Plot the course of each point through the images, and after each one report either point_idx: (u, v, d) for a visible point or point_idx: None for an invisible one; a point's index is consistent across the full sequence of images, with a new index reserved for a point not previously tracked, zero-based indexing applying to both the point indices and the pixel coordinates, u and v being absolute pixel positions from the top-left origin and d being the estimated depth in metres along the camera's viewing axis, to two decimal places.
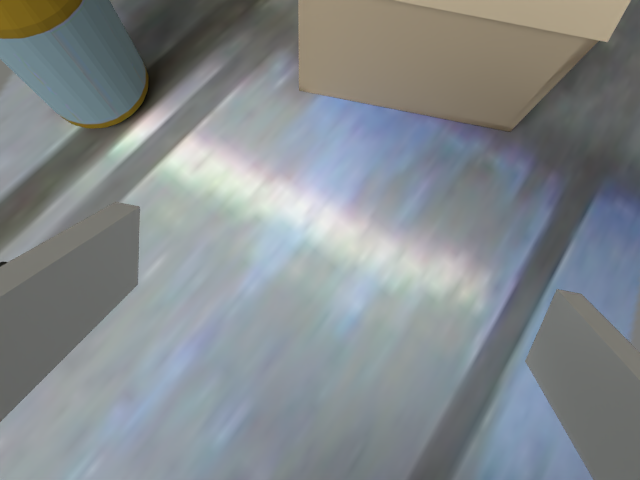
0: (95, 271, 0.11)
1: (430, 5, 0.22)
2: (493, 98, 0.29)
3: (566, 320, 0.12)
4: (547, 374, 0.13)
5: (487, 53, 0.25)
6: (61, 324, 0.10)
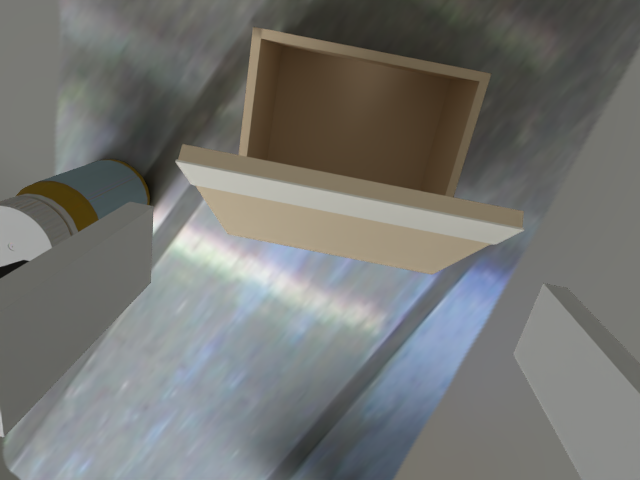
0: (112, 269, 0.12)
1: None
2: None
3: (552, 313, 0.13)
4: (533, 367, 0.13)
5: None
6: (81, 321, 0.10)
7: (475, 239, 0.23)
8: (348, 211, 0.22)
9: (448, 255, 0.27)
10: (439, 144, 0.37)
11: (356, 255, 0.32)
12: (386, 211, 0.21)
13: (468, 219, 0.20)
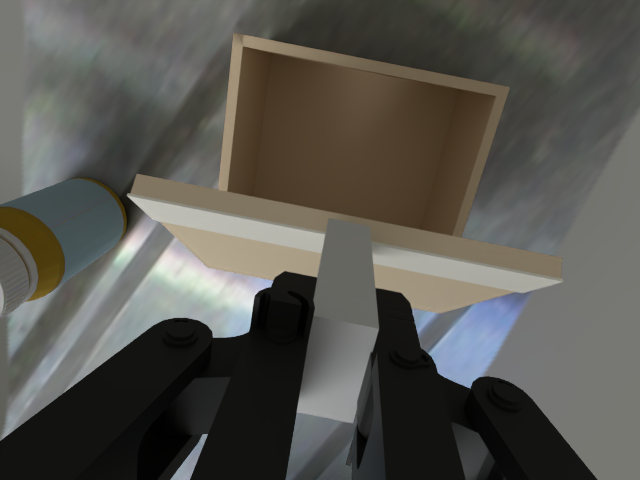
0: None
1: None
2: None
3: None
4: None
5: None
6: None
7: (499, 287, 0.18)
8: None
9: (462, 298, 0.23)
10: (447, 163, 0.33)
11: None
12: (390, 255, 0.17)
13: (493, 268, 0.16)
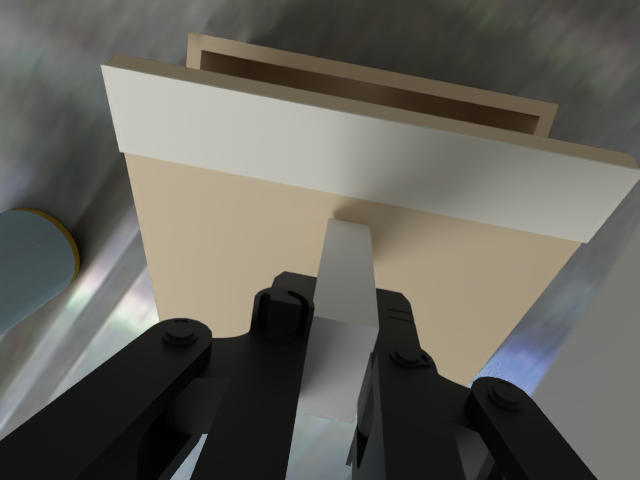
0: None
1: None
2: None
3: None
4: None
5: None
6: None
7: (557, 231, 0.15)
8: (363, 181, 0.14)
9: (501, 311, 0.18)
10: None
11: None
12: (425, 163, 0.14)
13: (558, 155, 0.13)
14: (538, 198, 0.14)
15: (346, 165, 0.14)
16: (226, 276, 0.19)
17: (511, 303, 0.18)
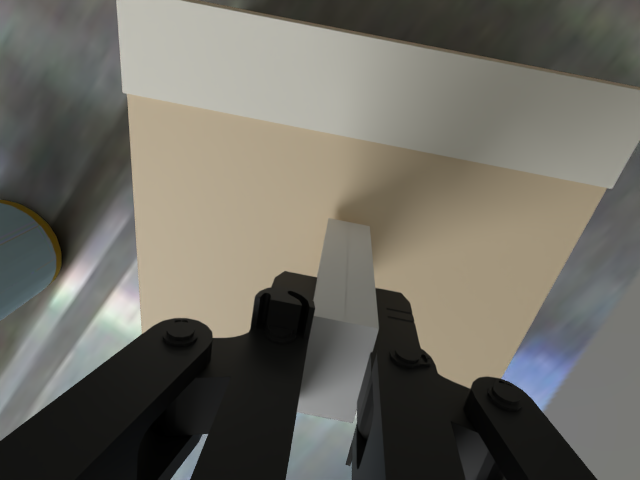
0: None
1: None
2: None
3: None
4: None
5: None
6: None
7: (580, 175, 0.14)
8: (378, 120, 0.14)
9: (524, 287, 0.16)
10: None
11: None
12: (443, 94, 0.13)
13: (576, 79, 0.13)
14: (559, 133, 0.13)
15: (361, 100, 0.14)
16: (223, 255, 0.17)
17: (535, 275, 0.16)
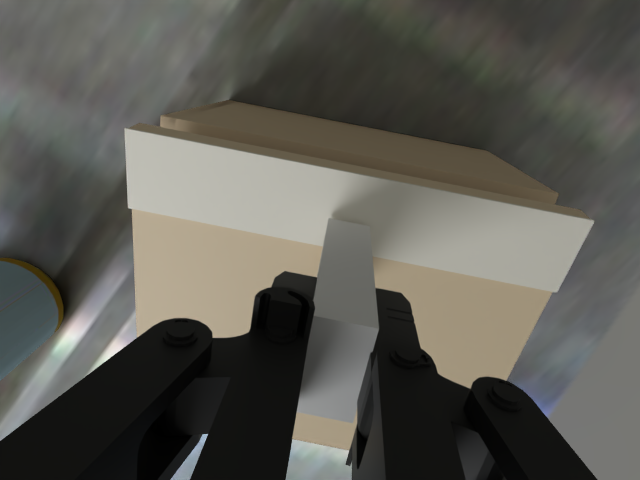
0: None
1: None
2: None
3: None
4: None
5: None
6: None
7: (529, 281, 0.16)
8: None
9: (487, 371, 0.18)
10: None
11: (342, 428, 0.21)
12: (406, 216, 0.15)
13: (519, 207, 0.15)
14: (507, 248, 0.15)
15: (336, 218, 0.16)
16: None
17: (495, 361, 0.18)
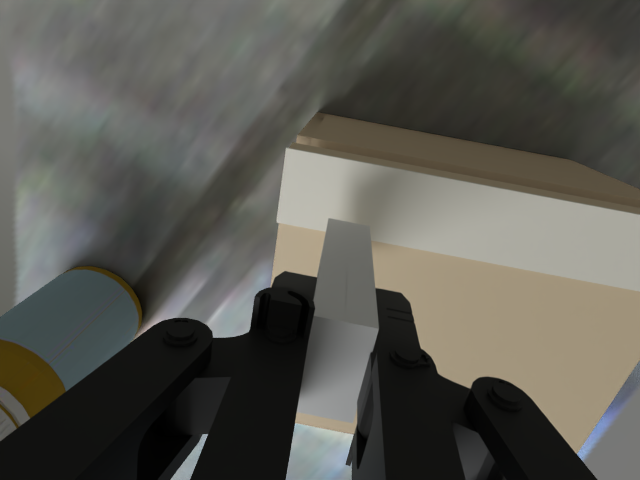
0: None
1: None
2: None
3: None
4: None
5: None
6: None
7: None
8: (491, 246, 0.17)
9: (605, 376, 0.19)
10: None
11: None
12: (548, 228, 0.16)
13: None
14: None
15: (478, 231, 0.16)
16: None
17: (615, 366, 0.19)
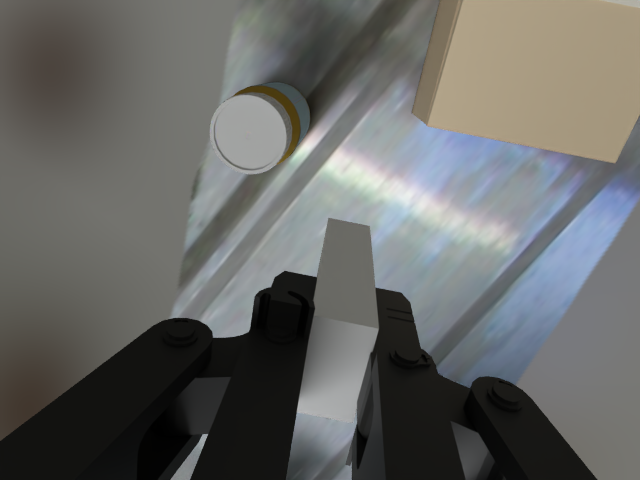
0: None
1: (508, 141, 0.36)
2: None
3: None
4: None
5: None
6: None
7: None
8: None
9: None
10: None
11: (550, 132, 0.36)
12: None
13: None
14: None
15: None
16: (490, 66, 0.34)
17: None
